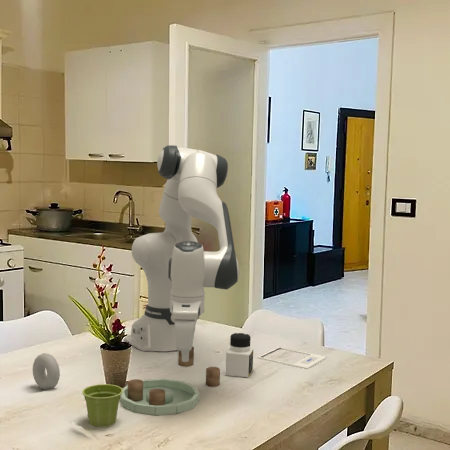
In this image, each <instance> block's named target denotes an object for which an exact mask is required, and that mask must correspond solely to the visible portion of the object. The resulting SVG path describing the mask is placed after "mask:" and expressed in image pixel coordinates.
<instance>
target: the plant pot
mask: <svg viewBox="0 0 450 450" xmlns="http://www.w3.org/2000/svg"><path fill="white" fill-rule="evenodd" d="M122 393H123V387H120V386H119V385H115V384H108V383H103V384H102V383H100V384H92V385H89V386H87V387H85V388H83V390H82V393H81V394H82V395H83V396H84V397H83V398H84V401H85V403H86V411H87V419H88V424H89V425H91V426H93V427H101V428H102V427H105V428H106V427H109V426H113V425H114V424H115V423H116V422H117V415H118V409H119V403H120V397H121V394H122Z"/></svg>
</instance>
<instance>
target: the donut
mask: <svg viewBox="0 0 450 450" xmlns="http://www.w3.org/2000/svg"><path fill="white" fill-rule="evenodd" d="M60 370H61V369H60V366H59V363H58V362H57V360H56V357H54V356H53V355H52V354H50V353H47V352H45V353H41V354H39V355H37V356H36V358H35V359H34V361H33V364H32V376H33V379H34V382H35V384H36V385H37V386H38V387H39V388H40V389H42V390H44V391H49V390H53V389H55V388H56V386H57V385H58V384H59V380H60V376H61V373H60Z"/></svg>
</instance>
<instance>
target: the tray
mask: <svg viewBox="0 0 450 450" xmlns="http://www.w3.org/2000/svg"><path fill="white" fill-rule="evenodd" d="M141 380H142V379H141ZM142 381H143V400H141V401H137V402H134V401H132V400H130V399H128V398H127V397H128V384H126V385H125V386H124V387H122V389H123V393H122V394H121V397H120V399H119V401H120V404H121V406H122V407H123V408H125V409H127V410H129V411H131V412H133V413H137V414H138V413H139V414H144V415H152V416H164V415H166V416H167V415H177V414H180V413H184V412H186V411H189V410H193V409H194V407H196V406H197V404H199V402H200V392H199V390H198V388H197V387H196V386H195V385H193V384H190V383H188V382H185V381H182V380H179V379H177V380H176V379H171V378H169V379H168V378H155V379H153V378H152V379H150V378H149V379H143V380H142ZM152 389H163V390H165V405H158V406H155V405H149V391H150V390H152Z"/></svg>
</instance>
